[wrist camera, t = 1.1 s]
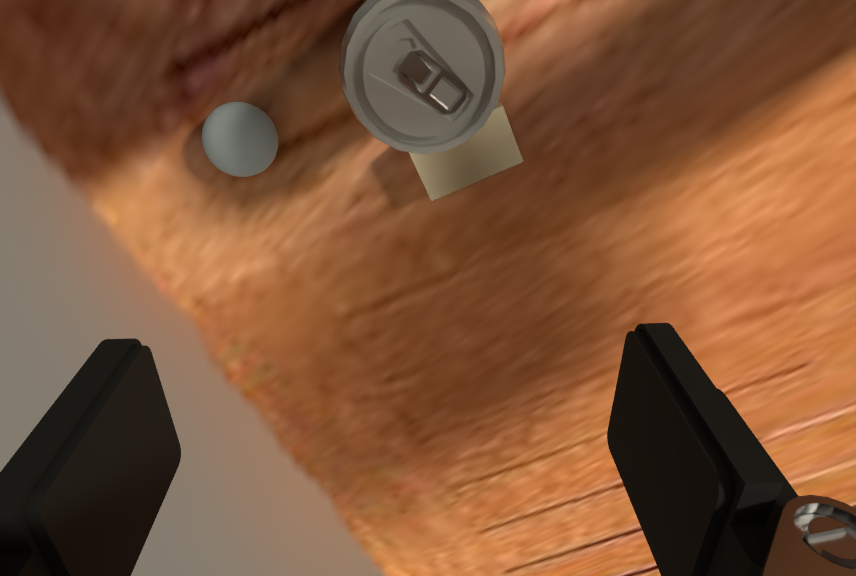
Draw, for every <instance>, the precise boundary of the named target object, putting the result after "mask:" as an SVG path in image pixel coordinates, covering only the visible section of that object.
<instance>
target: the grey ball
mask: <svg viewBox="0 0 856 576" xmlns="http://www.w3.org/2000/svg"><path fill="white" fill-rule="evenodd" d="M202 143H203V148H204V150H205V153H206V155H207V157H208V158H209V160H210V161H211V162H212V163H213V164H214V165H215V166H216V167H217V168H218V169H220V170H221V171H223V172H225V173H227V174H229V175H232V176H237V177H249V176H253V175H256V174H259V173H261V172H262V171H264V170H265V169H266V168H268V167H269V165H270V164H271V163H272V162H273V160H274V158H275V156H276V154H277V150H278V134H277V130H276V128H275V125H274V124H273V122H272V120H271V119H270V118H269V116H268V115H267V114H266V113H265V112H263V111H262V110H261V109H259V108H258V107H256V106H254V105H252V104H249V103H245V102H230V103H226V104H223V105H221V106H219V107H218V108H216V109H215V110H213V111H212V112H211V114H210V115H209V116H208V117H207V119H206V121H205V123H204V126H203V130H202Z"/></svg>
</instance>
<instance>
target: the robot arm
mask: <svg viewBox="0 0 856 576" xmlns="http://www.w3.org/2000/svg"><path fill="white" fill-rule="evenodd" d="M607 439H608V446H609V449H610V452H611V455H612V457H613V459H614V462H615V464H616V467H617V469H618V472H619V474H620V476H621V479H622V481H623V484H624V486H625V489H626V491H627V493H628V496H629V498H630V501H631V503H632V506H633V508H634V510H635V513H636V515H637V518H638V520H639V523H640V525H641V527H642V530H643V532H644V535H645V537H646V540H647V542H648V544H649V547H650V549H651V552H652V554H653V557H654V559H655V561H656V564H657V566H658V569H659V571H660V574H661V576H856V509H855V508H853V507H851V506H849V505H848V504H846V503H843V502H840V501H837V500H834V499H831V498H828V497H823V496H815V495H807V496H798V495H797V494H796V492H795V491H794V489H793V488H792V487H791V485H790V484H789V482H788V481H787V480H786V478H785V477H784V476H783V474H782V473H781V471H780V470H779V469H778V467H777V466H776V464H775V463H774V462H773V460H772V459H771V458H770V456H769V455H768V453H767V452H766V451H765V449H764V448H763V446H762V445H761V444H760V442H759V441H758V440H757V438H756V437H755V435H754V434H753V433H752V431H751V430H750V428H749V427H748V426H747V424H746V423H745V422H744V420H743V419H742V417H741V416H740V415H739V413H738V412H737V410H736V409H735V408H734V406H733V405H732V404H731V402H730V401H729V399H728V398H727V397H726V395H725V394H724V393H723V392H722V391H721V390H719V389H717V388H716V387H715V386H714V384H713V383H712V381H711V380H710V379H709V377H708V376H707V374H706V373H705V372H704V370H703V369H702V367H701V366H700V365H699V363H698V362H697V360H696V359H695V358H694V356H693V355H692V353H691V352H690V351H689V349H688V348H687V346H686V345H685V344H684V342H683V341H682V339H681V338H680V337H679V335H678V334H677V332H676V331H675V330H674V328H673V327H672V326H671V325H670V324H669V323H648V324H639V325H637V327H636V328H635V331H630V332H628V333H627V335H626V339H625V344H624V349H623V355H622V360H621V365H620V370H619V375H618V380H617V385H616V391H615V396H614V401H613V406H612V411H611V416H610V421H609V427H608V433H607ZM180 458H181V448H180V443H179V440H178V437H177V434H176V431H175V427H174V424H173V421H172V417H171V414H170V411H169V408H168V404H167V401H166V398H165V395H164V391H163V389H162V385H161V382H160V379H159V375H158V372H157V369H156V366H155V363H154V359H153V356H152V352H151V350H150V348H149V347H148V346H142V345H141V343H140V341H139V340H137V339H106V340H104V341H102V342H101V343H100V344H99V345H98V347H97V348H96V349H95V351H94V352H93V353H92V354H91V356H90V357H89V358H88V359H87V361H86V362H85V364H84V365H83V366H82V367H81V369H80V370H79V371H78V373H77V374H76V375H75V376H74V378H73V379H72V380H71V382H70V383H69V384H68V385H67V387H66V388H65V389H64V391H63V392H62V393H61V395H60V396H59V397H58V398H57V400H56V401H55V403H54V404H53V405H52V406H51V407H50V409H49V410H48V411H47V413H46V414H45V415H44V417H43V418H42V419H41V420H40V422H39V423H38V424H37V426H36V427H35V428H34V429H33V431H32V432H31V433H30V435H29V436H28V437H27V439H26V440H25V441H24V442H23V444H22V445H21V446H20V448H19V449H18V450H17V452H16V453H15V454H14V455H13V457H12V458H11V459H10V461H9V462H8V463H7V465H6V466H5V467H4V468H3V470H2V471H1V472H0V576H131V573H132V571H133V569H134V566H135V564H136V562H137V560H138V557H139V555H140V553H141V550H142V548H143V546H144V544H145V541H146V539H147V537H148V534H149V532H150V530H151V528H152V525H153V523H154V521H155V518H156V516H157V514H158V512H159V509H160V507H161V505H162V502H163V500H164V498H165V496H166V493H167V491H168V489H169V486H170V484H171V482H172V480H173V477H174V475H175V473H176V470H177V468H178V466H179V463H180Z"/></svg>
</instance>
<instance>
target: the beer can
mask: <svg viewBox="0 0 856 576" xmlns="http://www.w3.org/2000/svg"><path fill="white" fill-rule="evenodd" d="M339 70H340V75H341V81H342V86H343V92H344V95H345V97H346V99H347V101H348V103H349V105H350V107H351V109H352V111H353V113H354V115H355V117H356V118H357V119H358V120H359V121H360V122H361V123H362V124H363V126H364V127H365V128H366V129H367V130H368V131H369V132H370V133H371V134H372V135H373V136H374V137H376V138H377V139H378V140H380V141H382V142H384V143H385V144H387V145H389V146H391V147H393V148H395V149H397V150H399V151H405V152H410V153H416V154H421V155H422V154H430V153H437V152H445V151H447V150H449V149H451V148H453V147H456V146H458V145H460V144H462V143H464V142H466V141H467V140H468V139H470V138H471V137H472V136H473V135H474V134H475V133H476V132H477V131H478V130H479V129H481V128H482V127H483V126H484V125H485V123H486V121H487V120H488V118H489V116H490V115H491V113H492V111H493V110H494V108H495V106H496V105H497V102H498V100H499V96H500V92H501V88H502V84H503V80H504V76H505V58H504V45H503V42H502V39H501V37H500V34H499V31H498V28H497V26H496V23H495V20H494V19H493V18H492V16H491V15H490V14H489V12H488V11H487V10H486V9H485V7H484V6H483V5H482V4H481V2H480V1H479V0H364V1H363V2H362V4H361V5H360V6H359V8H358V9H357V11H356V12H355V14H354V16H353V18H352V20H351V22H350V24H349V27H348V29H347V31H346V33H345V35H344V38H343V40H342V48H341V56H340V65H339Z"/></svg>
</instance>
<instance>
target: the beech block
mask: <svg viewBox="0 0 856 576" xmlns="http://www.w3.org/2000/svg"><path fill="white" fill-rule="evenodd" d="M409 154H410V156H411V159H412V161H413V163H414V165H415V167H416V169H417V171H418V174H419V176H420V178H421V180H422V182H423V184H424V186H425V189H426V191H427V193H428V195H429V197H430V199H431V201H434V200H436V199H438V198H441V197H443V196H445V195H448V194H450V193H452V192H454V191H457V190H459V189H461V188H464V187H466V186H468V185H471V184H473V183H475V182H478V181H480V180H482V179H485V178H487V177H489V176H492V175H494V174H496V173H499V172H501V171H503V170H506V169H508V168H510V167H513V166H515V165H517V164H520V163H522V162H523V159H522V156H521V154H520V151H519V148H518V145H517V143H516V140H515V137H514V135H513V132H512V129H511V126H510V124H509V121H508V118H507V115H506V113H505V110H504V107H503V105H502V104H501V102H500V101H499V100H498V102H497V105H496V106H495V108H494V110H493V111H492V113H491V115H490V116H489V118H488V120H487V121H486V123H485V125H484V126H483V127H482V128H481V129H479V130H478V131H477V132H476V133H475V134H474V135H473V136H472V137H471V138H470V139H468V140H467V141H466V142H464V143H462V144H460V145H458V146H456V147H453V148H451V149H449V150H447V151H445V152H437V153H430V154H422V155H421V154H416V153H410V152H409Z"/></svg>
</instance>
